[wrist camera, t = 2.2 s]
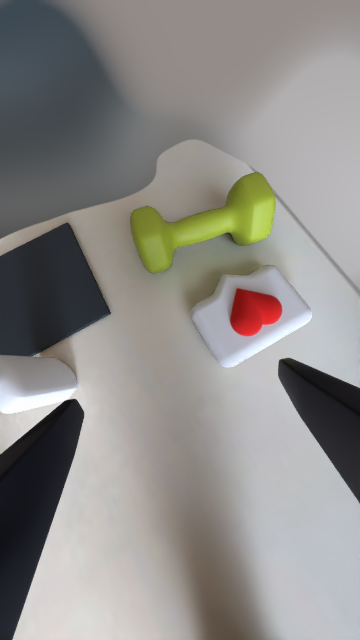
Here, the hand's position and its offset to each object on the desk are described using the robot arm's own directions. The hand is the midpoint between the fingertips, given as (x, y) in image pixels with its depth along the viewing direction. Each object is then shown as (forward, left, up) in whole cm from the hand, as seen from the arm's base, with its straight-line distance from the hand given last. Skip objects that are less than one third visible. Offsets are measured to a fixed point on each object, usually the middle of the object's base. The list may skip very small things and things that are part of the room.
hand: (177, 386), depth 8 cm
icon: (+8, -7, -15) cm, 18 cm away
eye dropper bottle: (0, +16, -15) cm, 22 cm away
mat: (+10, +24, -14) cm, 30 cm away
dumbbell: (+18, -2, -15) cm, 23 cm away
